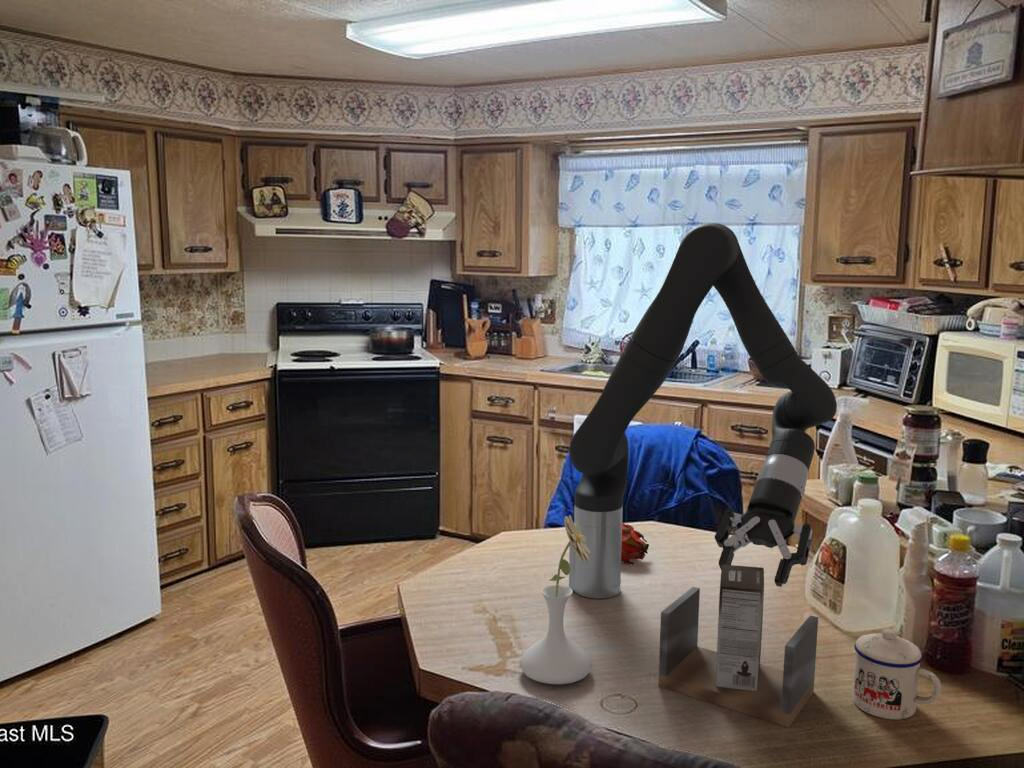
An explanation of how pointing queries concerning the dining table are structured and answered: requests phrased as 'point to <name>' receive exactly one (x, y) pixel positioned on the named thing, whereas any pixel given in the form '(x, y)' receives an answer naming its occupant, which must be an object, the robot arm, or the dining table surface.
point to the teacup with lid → (889, 676)
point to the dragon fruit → (632, 545)
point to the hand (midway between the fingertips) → (750, 577)
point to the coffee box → (740, 627)
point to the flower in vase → (559, 627)
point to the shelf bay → (697, 666)
